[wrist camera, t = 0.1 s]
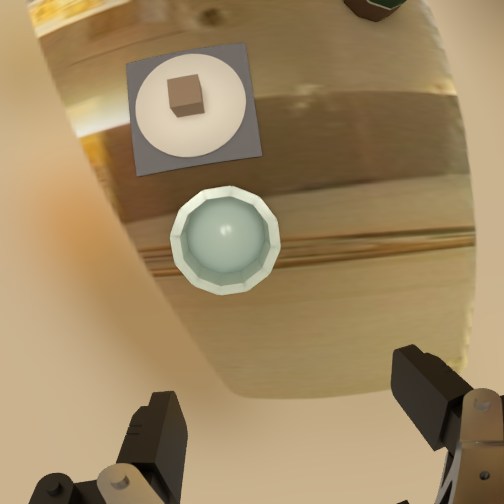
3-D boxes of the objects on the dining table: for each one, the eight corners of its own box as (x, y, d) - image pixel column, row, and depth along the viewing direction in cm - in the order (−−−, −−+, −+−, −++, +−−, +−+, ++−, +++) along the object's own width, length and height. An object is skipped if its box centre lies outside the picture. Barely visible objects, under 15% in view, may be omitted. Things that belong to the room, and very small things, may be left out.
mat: (127, 64, 33) (126, 63, 33) (244, 43, 34) (244, 42, 34) (137, 176, 36) (136, 176, 36) (261, 156, 37) (262, 155, 37)
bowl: (173, 195, 37) (163, 196, 31) (265, 181, 38) (272, 180, 32) (188, 284, 39) (182, 300, 34) (277, 270, 40) (285, 285, 34)
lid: (134, 68, 33) (119, 51, 27) (237, 50, 34) (239, 28, 28) (143, 166, 36) (128, 163, 30) (252, 148, 36) (257, 141, 31)
